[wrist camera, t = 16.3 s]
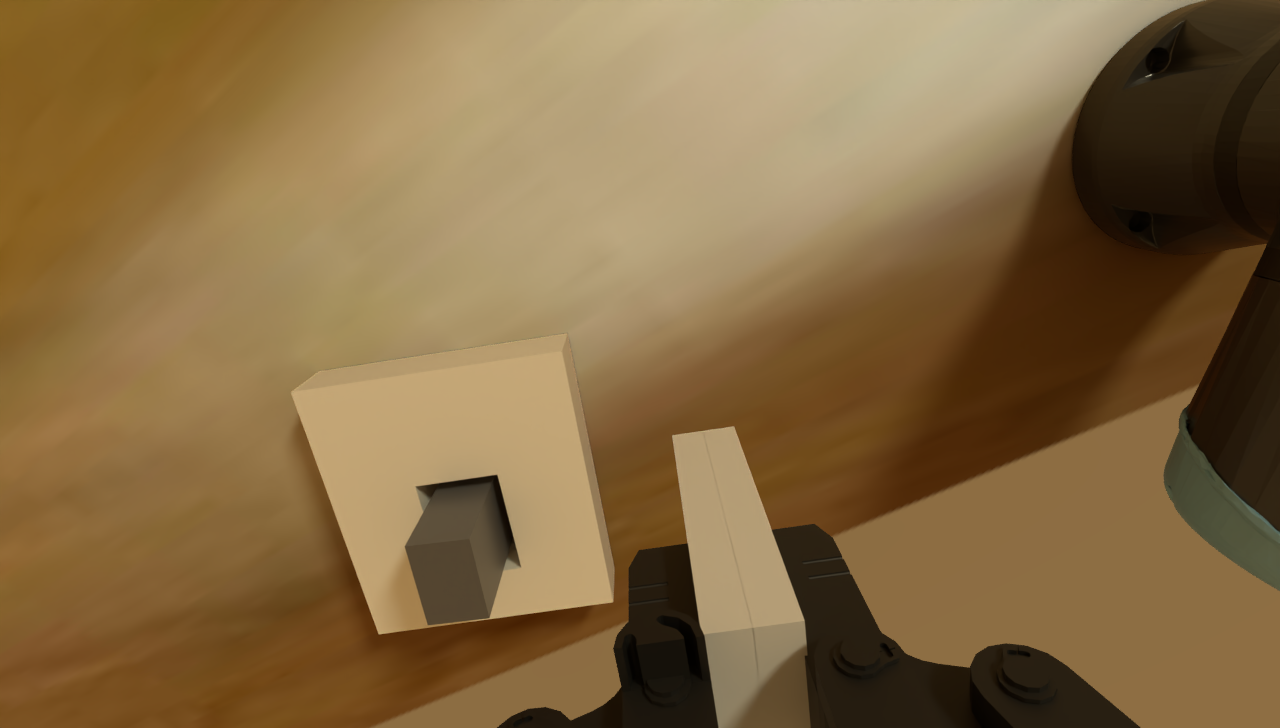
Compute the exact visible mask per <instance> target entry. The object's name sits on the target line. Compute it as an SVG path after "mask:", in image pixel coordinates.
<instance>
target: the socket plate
mask: <svg viewBox="0 0 1280 728" xmlns="http://www.w3.org/2000/svg"><path fill="white" fill-rule="evenodd" d="M291 394H292V397H293V399H294V402H295V405H296V408H297V410H298V413H299V416H300V419H301V422H302V424H303V427H304V430H305V433H306V435H307V438H308V441H309V444H310V446H311V449H312V452H313V455H314V457H315V460H316V463H317V466H318V468H319V471H320V474H321V477H322V479H323V482H324V485H325V488H326V490H327V493H328V496H329V499H330V501H331V504H332V507H333V510H334V512H335V515H336V518H337V521H338V523H339V526H340V529H341V532H342V535H343V537H344V540H345V543H346V546H347V548H348V551H349V554H350V557H351V559H352V562H353V565H354V568H355V570H356V573H357V576H358V579H359V581H360V584H361V587H362V590H363V592H364V595H365V598H366V601H367V603H368V606H369V609H370V612H371V614H372V617H373V620H374V623H375V625H376V628H377V631H378V634H385V633H392V632H400V631H407V630H414V629H422V628H429V627H436V626H443V625H451V624H458V623H465V622H472V621H480V620H487V619H479V620H470V621H462V622H453V623H444V624H435V625H427V621H426V618H425V614H424V611H423V607H422V604H421V601H420V597H419V594H418V590H417V587H416V584H415V580H414V577H413V573H412V570H411V567H410V563H409V560H408V556H407V553H406V550H405V545H406V543H407V541H408V539H409V538H410V536H411V534H412V532H413V530H414V528H415V527H416V525H417V523H418V521H419V519H420V518H421V516H422V514H423V512H424V510H425V508H426V507H427V505H428V503H429V501H430V499H431V497H432V496H433V494H434V492H435V490H436V488H437V486H438V485H439V483H443V482H450V481H457V480H464V479H470V478H477V477H484V476H491V475H498V479H499V483H500V487H501V491H502V494H503V498H504V502H505V506H506V510H507V514H508V518H509V521H510V525H511V529H512V533H513V537H514V538H513V539H512V542H511V546H510V549H509V552H508V556H507V559H506V563H505V566H504V570H503V573H502V577H501V580H500V584H499V587H498V590H497V594H496V597H495V601H494V604H493V608H492V611H491V615H490V618H488V619H494V618H502V617H509V616H516V615H523V614H531V613H538V612H545V611H553V610H560V609H567V608H574V607H582V606H589V605H596V604H604V603H611V602H613V598H614V563H613V558H612V553H611V548H610V543H609V538H608V533H607V528H606V523H605V518H604V513H603V508H602V503H601V498H600V493H599V488H598V483H597V478H596V473H595V468H594V463H593V458H592V453H591V448H590V443H589V438H588V433H587V428H586V423H585V418H584V413H583V408H582V403H581V398H580V393H579V388H578V383H577V378H576V373H575V368H574V363H573V358H572V353H571V348H570V343H569V338H568V333H566V334H559V335H553V336H546V337H539V338H533V339H526V340H520V341H513V342H507V343H500V344H494V345H487V346H481V347H474V348H467V349H461V350H454V351H448V352H441V353H435V354H428V355H422V356H415V357H409V358H402V359H395V360H389V361H382V362H376V363H369V364H363V365H356V366H350V367H343V368H337V369H330V370H323V371H318V372H317V373H316V374H314V375H313V376H312V377H310V378H309V379H308V380H306V381H305V382H304V383H302V384H301V385H300V386H298V387H297V388H296V389H294V390H293V391H292V392H291Z"/></svg>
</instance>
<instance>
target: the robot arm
mask: <svg viewBox="0 0 1280 728" xmlns="http://www.w3.org/2000/svg"><path fill="white" fill-rule="evenodd" d="M1073 174H1074V180H1075V185H1076V189H1077V192H1078V195H1079V198H1080V200H1081V202H1082V204H1083V206H1084V208H1085V210H1086V212H1087V213H1088V215H1089V216H1090V217H1091V219H1092V220H1093V221H1094V222H1095V223H1096V225H1097V226H1098V227H1100V228H1101V229H1102V230H1103V231H1104V232H1105V233H1107V234H1108V235H1109V236H1111V237H1113V238H1114V239H1116V240H1118V241H1120V242H1122V243H1125V244H1127V245H1130V246H1133V247H1137V248H1142V249H1146V250H1151V251H1156V252H1161V253H1166V254H1180V255H1192V254H1203V253H1210V252H1216V251H1222V250H1229V249H1235V248H1241V247H1247V246H1254V245H1260V244H1266V243H1267V245H1266V248H1265V250H1264V252H1263V255H1262V257H1261V259H1260V261H1259V263H1258V265H1257V267H1256V269H1255V272H1254V273H1253V274H1252V276H1251V278H1250V281H1249V283H1248V285H1247V287H1246V289H1245V291H1244V293H1243V296H1242V298H1241V300H1240V302H1239V304H1238V306H1237V308H1236V310H1235V313H1234V315H1233V317H1232V319H1231V321H1230V323H1229V325H1228V327H1227V330H1226V332H1225V334H1224V336H1223V338H1222V340H1221V342H1220V344H1219V346H1218V348H1217V350H1216V352H1215V354H1214V356H1213V358H1212V360H1211V362H1210V364H1209V366H1208V368H1207V370H1206V372H1205V374H1204V376H1203V378H1202V380H1201V382H1200V384H1199V386H1198V388H1197V390H1196V393H1195V395H1194V397H1193V399H1192V401H1191V403H1190V404H1189V405H1188V406H1187V407H1186V408H1185V409H1184V410H1183V411H1182V413H1181V415H1180V418H1179V429H1180V430H1179V433H1178V435H1177V438H1176V440H1175V443H1174V445H1173V448H1172V450H1171V453H1170V455H1169V458H1168V460H1167V463H1166V465H1165V469H1164V485H1165V488H1166V491H1167V493H1168V495H1169V497H1170V499H1171V500H1172V502H1173V503H1174V506H1175V508H1176V510H1177V511H1178V513H1179V514H1180V515H1181V517H1182V518H1183V519H1184V520H1185V521H1186V522H1187V523H1188V525H1189V526H1190V527H1191V528H1192V529H1193V530H1195V532H1197V533H1198V534H1199V535H1200V536H1201V537H1202V538H1203V539H1204V540H1205V541H1207V542H1208V543H1209V544H1210V545H1211V546H1213V547H1214V548H1215V549H1216V550H1218V551H1219V552H1221V553H1222V554H1223V555H1225V556H1226V557H1227V558H1229V559H1230V560H1231V561H1233V562H1234V563H1236V564H1237V565H1239V566H1240V567H1242V568H1243V569H1245V570H1246V571H1248V572H1249V573H1251V574H1252V575H1254V576H1256V577H1257V578H1259V579H1260V580H1262V581H1264V582H1265V583H1267V584H1269V585H1270V586H1272V587H1274V588H1276V589H1277V590H1279V591H1280V0H1205V1H1201V2H1197V3H1194V4H1190V5H1187V6H1185V7H1182V8H1179V9H1177V10H1175V11H1173V12H1170V13H1169V14H1167V15H1165V16H1163V17H1161V18H1159V19H1158V20H1156V21H1154V22H1153V23H1151V24H1150V25H1148V26H1147V27H1146V28H1144V29H1143V30H1142V31H1140V32H1139V33H1138V34H1136V35H1135V36H1134V37H1133V38H1132V39H1131V40H1130V41H1128V42H1127V43H1126V44H1125V45H1124V46H1123V47H1122V48H1121V49H1120V50H1119V51H1118V53H1117V54H1116V55H1115V56H1114V57H1113V58H1112V59H1111V61H1110V62H1109V63H1108V65H1107V66H1106V67H1105V69H1104V70H1103V71H1102V73H1101V74H1100V76H1099V77H1098V79H1097V81H1096V82H1095V84H1094V86H1093V87H1092V89H1091V91H1090V93H1089V95H1088V97H1087V99H1086V102H1085V104H1084V106H1083V109H1082V111H1081V114H1080V117H1079V121H1078V124H1077V128H1076V132H1075V138H1074V145H1073ZM672 438H673V445H674V451H675V458H676V465H677V472H678V479H679V486H680V493H681V499H682V506H683V513H684V520H685V527H686V534H687V541H688V544H681V545H673V546H666V547H659V548H652V549H645V550H639V551H638V553H637V555H636V556H635V558H634V560H633V562H632V563H631V565H630V567H629V622H628V623H627V624H626V625H625V626H624V627H623V629H622V630H621V631H620V632H619V633H618V635H617V637H616V641H615V645H614V648H613V649H614V653H615V658H616V663H617V668H618V672H619V677H620V682H621V686H622V687H621V688H620V690H619V691H618V692H617V694H616V695H615V696H614V697H613V698H612V699H611V700H609V701H608V702H607V703H606V704H604V705H603V706H601V707H599V708H597V709H596V710H594V711H592V712H590V713H587V714H585V715H583V716H580V717H578V718H576V719H574V720H569V719H568V718H567V717H566V716H565V715H564V714H562V712H561V711H557V710H554V709H549V708H546V707H544V708H534V709H527V710H525V711H522V712H520V713H518V714H516V715H513V716H511V717H510V718H509V719H507V720H506V721H505V722H504V723H502V724H501V725H500V726H499V727H497V728H1140V727H1139V726H1138V725H1137V724H1136V723H1134V722H1133V721H1132V720H1131V719H1129V718H1128V717H1127V716H1126V715H1125V714H1124V713H1123V712H1121V711H1120V710H1119V709H1118V708H1116V707H1115V706H1114V705H1113V704H1112V703H1110V702H1109V701H1108V700H1107V699H1106V698H1104V697H1103V696H1102V695H1101V694H1100V693H1099V692H1097V691H1096V690H1095V689H1094V688H1093V687H1091V686H1090V685H1089V684H1088V683H1087V682H1086V681H1084V680H1083V679H1082V678H1081V677H1080V676H1078V675H1077V674H1076V673H1075V672H1074V671H1072V670H1071V669H1070V668H1069V667H1068V666H1066V665H1065V664H1063V663H1062V662H1060V661H1059V660H1057V659H1056V658H1054V657H1053V656H1051V655H1049V654H1048V653H1045V652H1042V651H1039V650H1037V649H1034V648H1031V647H1028V646H1024V645H1015V644H1000V645H994V646H988V647H987V648H985V649H984V650H982V651H980V652H979V653H977V654H976V656H975V657H974V660H973V662H972V664H971V666H970V668H967V667H959V666H951V665H943V664H936V663H932V662H927V661H922V660H920V659H917V658H914V657H912V656H909V655H907V654H906V653H904V651H903V650H902V649H901V648H900V646H899V645H898V644H897V643H896V642H895V641H894V640H892V639H890V638H889V637H887V636H886V635H884V634H882V633H881V631H880V630H879V628H878V626H877V624H876V622H875V620H874V618H873V616H872V614H871V612H870V610H869V608H868V606H867V604H866V602H865V600H864V598H863V596H862V594H861V592H860V590H859V588H858V586H857V584H856V583H855V581H854V579H853V577H852V575H851V574H850V571H849V569H848V567H847V565H846V563H845V561H844V559H842V555H841V553H840V551H839V549H838V547H837V545H836V543H835V541H834V539H833V538H832V537H831V536H830V535H828V534H827V533H826V532H824V531H823V530H822V529H820V528H819V527H818V526H816V525H815V524H811V525H803V526H796V527H789V528H782V529H775V530H771V527H770V524H769V522H768V519H767V516H766V513H765V511H764V508H763V505H762V502H761V500H760V497H759V494H758V491H757V489H756V486H755V483H754V480H753V478H752V475H751V472H750V469H749V467H748V464H747V461H746V458H745V456H744V453H743V450H742V447H741V445H740V442H739V439H738V436H737V434H736V431H735V428H734V427H727V428H720V429H713V430H706V431H700V432H693V433H686V434H679V435H672Z"/></svg>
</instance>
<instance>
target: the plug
mask: <svg viewBox="0 0 1280 728" xmlns="http://www.w3.org/2000/svg"><path fill="white" fill-rule="evenodd" d="M512 539H513V533H512V529H511V525H510V521H509V518H508V514H507V510H506V506H505V502H504V498H503V494H502V491H501V487H500V483H499V479H498V475H491V476H484V477H477V478H470V479H464V480H457V481H450V482H443V483H439V485H438V486H437V488H436V490H435V492H434V494H433V496H432V497H431V499H430V501H429V503H428V505H427V507H426V508H425V510H424V512H423V514H422V516H421V518H420V519H419V521H418V523H417V525H416V527H415V528H414V530H413V532H412V534H411V536H410V538H409V539H408V541H407V543H406V545H405V550H406V553H407V556H408V560H409V563H410V567H411V570H412V573H413V577H414V580H415V584H416V587H417V590H418V594H419V597H420V601H421V604H422V607H423V611H424V614H425V618H426V621H427V625H435V624H444V623H453V622H462V621H470V620H479V619H488V618H490V615H491V611H492V608H493V604H494V601H495V597H496V594H497V590H498V587H499V584H500V580H501V577H502V573H503V570H504V566H505V563H506V559H507V556H508V552H509V549H510V546H511V542H512Z"/></svg>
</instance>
